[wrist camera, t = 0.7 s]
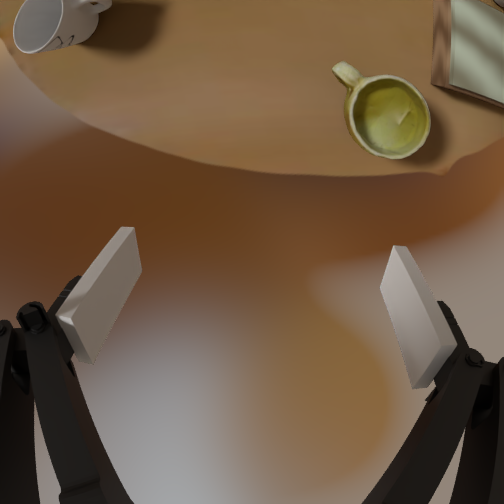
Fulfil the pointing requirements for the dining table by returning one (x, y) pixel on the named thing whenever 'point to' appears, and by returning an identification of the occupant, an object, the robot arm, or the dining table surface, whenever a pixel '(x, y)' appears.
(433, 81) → the podium
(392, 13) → the dining table surface
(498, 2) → the beverage can
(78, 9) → the mug
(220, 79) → the dining table surface
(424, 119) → the mug
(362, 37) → the dining table surface
